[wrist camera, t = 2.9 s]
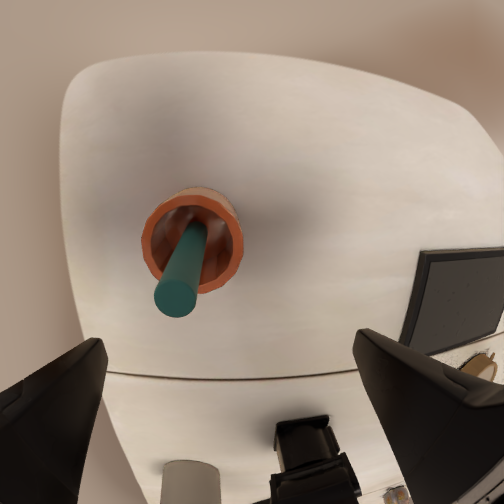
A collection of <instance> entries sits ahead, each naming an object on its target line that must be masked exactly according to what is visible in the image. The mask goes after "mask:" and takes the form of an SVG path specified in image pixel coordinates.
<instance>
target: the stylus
mask: <svg viewBox="0 0 504 504" xmlns="http://www.w3.org/2000/svg"><path fill="white" fill-rule="evenodd" d="M207 236H208V230H207V227H206V226H205V225H204V224H203V223H202V222H199V221H194V222H191V223H189V224H188V225H187V227H186V228H185V230H184V232H183V234H182V236H181V238H180V240H179V242H178V244H177V246H176V248H175V250H174V252H173V254H172V256H171V258H170V260H169V262H168V264H167V266H166V268H165V270H164V272H163V274H162V276H161V278H160V281H159V283H158V285H157V287H156V289H155V292H154V301H155V304H156V306H157V307H158V309H159V310H160V311H161V312H162V313H164V314H165V315H167V316H170V317H175V318H178V317H183V316H186V315H188V314H189V313H190V312H192V310H193V309H194V307H195V305H196V300H197V293H198V287H199V281H200V275H201V269H202V263H203V258H204V252H205V247H206V241H207Z"/></svg>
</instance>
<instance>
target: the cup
mask: <svg viewBox="0 0 504 504" xmlns="http://www.w3.org/2000/svg"><path fill="white" fill-rule="evenodd" d="M160 504H221V489H220V474H219V471H218V469H216V468H215V467H213V466H211V465H209V464H205V463H202V462H198V461H188V460H182V461H172V462H170V463H168V464H165V466H164V469H163V477H162V488H161V500H160Z"/></svg>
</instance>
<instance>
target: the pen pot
mask: <svg viewBox="0 0 504 504" xmlns="http://www.w3.org/2000/svg"><path fill="white" fill-rule="evenodd" d="M194 221H199V222H202V223H203V224H204V225H205V226H206V227H207V230H208V236H207V241H206V247H205V252H204V258H203V263H202V269H201V275H200V281H199V287H198V293H197V294H204V293H207V292H210V291H212V290H215V289H217V288H219V287H222V286H223V285H224V284H225V283H226V282H227V281H228V280H229V279H230V278H231V277H232V276H233V275H234V274H235V272H237V269H238V267H239V264H240V262H241V260H242V257H243V233H242V230H241V226H240V222H239V219H238V217H237V214H236V212H235V209H234V207H233V205H232V204H231V203H230V202H229V201H228V200H227V198H225V197H224V196H223V195H222V194H220V193H219V192H217V191H215V190H212V189H209V188H204V187H192V188H187V189H185V190H182V191H180V192H178V193H176V194H174V195H172V196H171V197H170V198H168V199H167V200H165V201H164V202H163V203H161V204H160V205H159V206H158V207H157V208H156V209H155V211H154V212H153V213H152V214H151V215H150V216H149V218H148V219H147V221H146V224H145V227H144V230H143V234H142V237H141V243H142V252H143V258H144V260H145V262H146V264H147V266H148V268H149V270H150V271H151V273H152V275H153V276H154V277H155V278H156V279H158V280H159V281H160V278H161V276H162V274H163V272H164V270H165V268H166V266H167V264H168V262H169V260H170V258H171V256H172V254H173V252H174V250H175V248H176V246H177V244H178V242H179V240H180V238H181V236H182V234H183V232H184V230H185V228H186V227H187V225H188V224H189V223H191V222H194Z"/></svg>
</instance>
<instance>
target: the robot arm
mask: <svg viewBox="0 0 504 504" xmlns="http://www.w3.org/2000/svg"><path fill="white" fill-rule="evenodd" d="M353 355H354V358H355V361H356V364H357V367H358V370H359V373H360V376H361V379H362V382H363V385H364V388H365V390H366V392H367V394H368V396H369V399H370V401H371V403H372V405H373V407H374V410H375V412H376V414H377V416H378V418H379V421H380V423H381V425H382V427H383V430H384V432H385V434H386V437H387V439H388V441H389V444H390V446H391V448H392V451H393V453H394V455H395V458H396V460H397V462H398V465H399V467H400V470H401V472H402V475H403V477H404V480H405V482H406V485H407V487H408V490H409V492H410V495H411V498H412V500H413V503H414V504H457V503H458V504H504V385H502V384H497V383H494V382H491V381H488V380H485V379H482V378H479V377H476V376H473V375H471V374H468V373H465V372H463V371H460V370H458V369H455V368H453V367H451V366H449V365H446V364H444V363H441V362H440V361H437V360H435V359H433V358H431V357H429V356H427V355H424V354H422V353H420V352H418V351H416V350H414V349H411V348H409V347H407V346H405V345H403V344H401V343H398V342H396V341H394V340H392V339H390V338H388V337H386V336H384V335H381V334H379V333H377V332H375V331H373V330H371V329H369V328H365V329H359V330H358V331H357V332H356V336H355V340H354V344H353ZM107 365H108V356H107V353H106V350H105V347H104V343H103V341H102V339H100V338H89V339H88V340H86V341H84V342H83V343H81V344H79V345H78V346H76V347H74V348H73V349H71V350H70V351H68V352H66V353H65V354H63V355H61V356H60V357H58V358H57V359H55V360H54V361H52V362H50V363H48V364H47V365H45V366H44V367H42V368H40V369H39V370H37V371H36V372H34V373H32V374H31V375H29V376H28V377H26V378H24V380H21V381H20V382H18V383H16V384H15V385H13V386H11V387H10V388H8V389H6V390H4V391H2V392H1V393H0V504H77V501H78V495H79V488H80V483H81V478H82V473H83V468H84V463H85V459H86V454H87V450H88V446H89V442H90V438H91V433H92V430H93V426H94V422H95V418H96V415H97V411H98V408H99V404H100V401H101V397H102V392H103V386H104V381H105V376H106V370H107ZM328 423H329V416H328V415H325V416H319V417H313V418H307V419H300V420H293V421H285V422H279V423H277V424H276V428H275V438H274V447H273V448H274V451H277V455H278V460H279V464H280V469H281V473H278V474H271V480H270V481H269V482H270V488H271V499H270V504H359V503H358V500H357V497H360V496H362V492H361V489H360V486H359V483H358V480H357V477H356V475H355V473H354V471H353V468H352V466H351V464H350V462H349V460H348V457H347V455H346V453H345V452H343V453H340V455H338V453H339V451H340V448H339V445H338V443H337V440H336V438H335V435H334V433H333V430H332V427H330V426H328Z"/></svg>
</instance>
